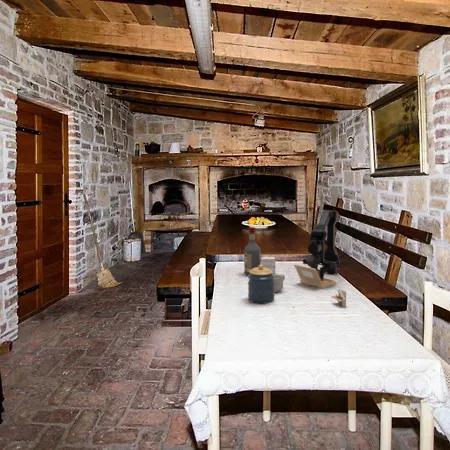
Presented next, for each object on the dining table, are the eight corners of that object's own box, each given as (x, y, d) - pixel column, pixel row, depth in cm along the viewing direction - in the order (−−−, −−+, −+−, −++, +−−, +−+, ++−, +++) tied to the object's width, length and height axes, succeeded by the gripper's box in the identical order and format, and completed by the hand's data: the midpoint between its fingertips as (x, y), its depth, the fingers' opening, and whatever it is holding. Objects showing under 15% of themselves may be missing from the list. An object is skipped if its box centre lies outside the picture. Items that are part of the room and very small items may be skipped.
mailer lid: (294, 264, 191) (294, 264, 191) (315, 268, 179) (315, 269, 179) (300, 278, 195) (300, 278, 195) (322, 283, 183) (321, 284, 183)
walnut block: (317, 279, 196) (317, 269, 195) (323, 280, 193) (323, 270, 192) (313, 280, 194) (313, 270, 193) (319, 282, 190) (319, 271, 190)
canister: (256, 305, 160) (255, 268, 158) (243, 297, 172) (243, 263, 170) (279, 301, 165) (279, 265, 163) (265, 293, 177) (265, 260, 175)
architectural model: (339, 308, 155) (340, 292, 154) (330, 303, 161) (331, 288, 160) (346, 307, 156) (346, 292, 155) (337, 302, 162) (337, 287, 161)
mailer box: (313, 278, 203) (313, 275, 202) (336, 284, 190) (336, 280, 190) (300, 282, 196) (300, 279, 195) (322, 288, 183) (322, 284, 183)
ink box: (275, 275, 212) (274, 257, 210) (275, 277, 207) (275, 258, 205) (261, 275, 212) (260, 257, 211) (261, 277, 207) (261, 258, 206)
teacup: (270, 295, 175) (270, 279, 174) (259, 289, 184) (258, 275, 183) (292, 290, 181) (292, 276, 180) (279, 285, 191) (279, 271, 190)
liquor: (256, 272, 221) (255, 226, 217) (262, 275, 212) (261, 228, 209) (243, 273, 218) (242, 227, 215) (248, 277, 209) (248, 228, 206)
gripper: (296, 250, 194) (296, 277, 196) (323, 255, 179) (323, 284, 181) (309, 248, 200) (309, 273, 202) (336, 252, 186) (336, 280, 187)
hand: (318, 277), depth 193 cm, fingers closed on walnut block, 4 cm apart
